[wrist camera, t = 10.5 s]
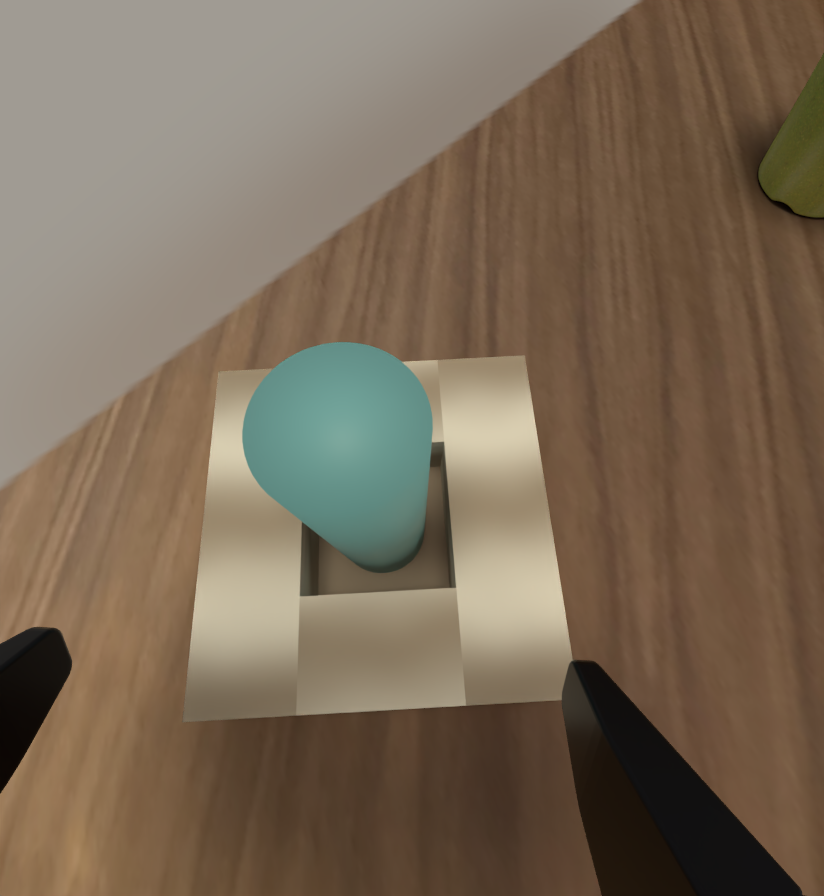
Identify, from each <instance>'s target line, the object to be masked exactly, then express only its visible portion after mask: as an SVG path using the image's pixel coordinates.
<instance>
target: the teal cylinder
mask: <svg viewBox="0 0 824 896" xmlns="http://www.w3.org/2000/svg"><path fill="white" fill-rule="evenodd" d="M432 432H433V418H432V412H431V406H430V403H429V400H428V397H427V394H426V392H425V390H424V388H423V386H422V384H421V383H420V381H419V380H418V378H417V377H416V376H415V374H414V373H413V372H412V371H411V370H410V369H409V368H408V367H407V366H406V365H405V364H404V363H402V362H401V361H400V360H398V359H397V358H395V357H394V356H392V355H391V354H389V353H387V352H385V351H383V350H381V349H378V348H375V347H372V346H368V345H364V344H359V343H350V342H336V343H328V344H322V345H318V346H314V347H311V348H308V349H305V350H302V351H300V352H298V353H296V354H294V355H292V356H290V357H289V358H287V359H286V360H284V361H283V362H281V363H280V364H279V365H278V366H276V367H275V368H274V369H273V370H272V371H271V372H270V373H269V374H268V375H267V376H266V377H265V378H264V379H263V380H262V382H261V383H260V384H259V386H258V387H257V389H256V390H255V392H254V394H253V396H252V397H251V400H250V402H249V404H248V407H247V410H246V413H245V417H244V422H243V430H242V443H243V449H244V455H245V458H246V461H247V464H248V467H249V469H250V471H251V473H252V475H253V477H254V478H255V480H256V481H257V482H258V484H259V485H260V487H261V488H262V489H263V490H264V491H265V492H266V493H267V494H268V495H269V496H270V497H272V498H273V499H274V500H275V501H277V502H278V503H279V504H280V505H282V506H283V507H284V508H285V509H287V510H288V511H289V512H290V513H292V514H293V515H294V516H295V517H297V518H298V519H299V520H301V521H302V522H303V523H304V524H306V525H307V526H308V527H309V528H311V529H312V530H313V531H314V532H316V533H317V534H318V535H319V536H321V537H322V538H323V539H325V540H326V541H327V542H328V543H330V544H331V545H332V546H333V547H335V548H336V549H337V550H338V551H340V552H341V553H342V554H343V555H345V556H346V557H347V558H349V559H350V560H351V561H352V562H354V563H355V564H356V565H357V566H359V567H361V568H362V569H364V570H367V571H370V572H373V573H389V572H393V571H396V570H399V569H401V568H403V567H404V566H406V565H407V564H408V563H410V562H411V561H412V560H413V559H414V557H415V556H416V555H417V553H418V552H419V550H420V548H421V545H422V543H423V539H424V530H425V518H426V506H427V493H428V481H429V469H430V457H431V445H432Z"/></svg>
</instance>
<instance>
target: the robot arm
mask: <svg viewBox="0 0 824 896" xmlns="http://www.w3.org/2000/svg"><path fill="white" fill-rule="evenodd" d="M71 668H72V659H71V656H70V653H69V651H68V648H67V646H66V643H65V641H64V638H63V635H62V633H61V632H60V630H58V629H56V628H48V627H33V628H30V629H27V630H25V631H23V632H22V633H20V634H18V635H16V636H14V637H12V638H10V639H9V640H7V641H5V642H3V643H1V644H0V793H1V792H2V790H3V789H4V787H5V786H6V784H7V783H8V781H9V780H10V778H11V777H12V775H13V773H14V772H15V770H16V769H17V767H18V765H19V764H20V762H21V760H22V759H23V757H24V755H25V754H26V752H27V750H28V748H29V746H30V745H31V743H32V741H33V739H34V737H35V736H36V734H37V732H38V730H39V728H40V727H41V725H42V723H43V721H44V719H45V718H46V716H47V714H48V712H49V710H50V709H51V707H52V705H53V703H54V701H55V700H56V698H57V696H58V694H59V692H60V691H61V689H62V687H63V685H64V683H65V682H66V680H67V678H68V676H69V674H70V671H71ZM562 709H563V715H564V721H565V727H566V733H567V739H568V746H569V752H570V758H571V764H572V770H573V776H574V782H575V788H576V794H577V799H578V805H579V809H580V814H581V818H582V822H583V826H584V830H585V833H586V837H587V841H588V845H589V849H590V852H591V856H592V860H593V864H594V868H595V871H596V875H597V879H598V883H599V887H600V890H601V894H602V896H803V895H802V891H801V889H800V887H799V886H798V885H797V884H796V883H795V882H794V881H793V879H792V878H791V877H790V876H789V875H788V874H787V873H786V872H785V871H784V869H783V868H782V867H781V866H780V865H779V864H778V863H777V862H776V861H775V860H774V858H773V857H772V856H771V855H770V854H769V853H768V852H767V851H766V850H765V848H764V847H763V846H762V845H761V844H760V843H759V842H758V841H757V840H756V838H755V837H754V836H753V835H752V834H751V833H750V832H749V831H748V830H747V828H746V827H745V826H744V825H743V824H742V823H741V822H740V821H739V820H738V819H737V817H736V816H735V815H734V814H733V813H732V812H731V811H730V810H729V809H728V807H727V806H726V805H725V804H724V803H723V802H722V801H721V800H720V799H719V797H718V796H717V795H716V794H715V793H714V792H713V791H712V790H711V789H710V787H709V786H708V785H707V784H706V783H705V782H704V781H703V780H702V779H701V778H700V776H699V775H698V774H697V773H696V772H695V771H694V770H693V769H692V768H691V766H690V765H689V764H688V763H687V762H686V761H685V760H684V759H683V758H682V756H681V755H680V754H679V753H678V752H677V751H676V750H675V749H674V748H673V746H672V745H671V744H670V743H669V742H668V741H667V740H666V739H665V738H664V737H663V735H662V734H661V733H660V732H659V731H658V730H657V729H656V728H655V727H654V725H653V724H652V723H651V722H650V721H649V720H648V719H647V718H646V717H645V715H644V714H643V713H642V712H641V711H640V710H639V709H638V708H637V707H636V705H635V704H634V703H633V702H632V701H631V700H630V699H629V698H628V697H627V696H626V694H625V693H624V692H623V691H622V690H621V689H620V688H619V687H618V686H617V684H616V683H615V682H614V681H613V680H612V679H611V678H610V677H609V676H608V674H607V673H606V672H605V671H604V670H603V669H602V668H601V667H600V666H599V665H598V664H597V663H596V662H594V661H588V660H572V661H571V662H570V663H569V666H568V669H567V673H566V677H565V681H564V685H563V689H562ZM804 896H805V895H804Z"/></svg>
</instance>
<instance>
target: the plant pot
mask: <svg viewBox="0 0 824 896" xmlns="http://www.w3.org/2000/svg"><path fill="white" fill-rule="evenodd" d="M758 177H759V181H760V184H761V186H762V188H763V190H764V192H765V193H766V194H767V195H768V196H769V197H770V198H771V199H772V200H774V201H780V202H783V203H785V204H787V205H788V206H789V207H790V208H791V209H792V210H793V212H794V213H796V214H800V215H803V216H808V217H824V54H823V55H822V57H821V59H820V61H819V63H818V64H817V66H816V68H815V70H814V71H813V73H812V75H811V77H810V78H809V80H808V82H807V84H806V86H805V87H804V89H803V91H802V92H801V94H800V96H799V98H798V99H797V101H796V103H795V105H794V106H793V108H792V110H791V112H790V113H789V115H788V117H787V119H786V120H785V122H784V124H783V126H782V127H781V129H780V131H779V132H778V134H777V136H776V137H775V139H774V141H773V143H772V144H771V146H770V148H769V150H768V151H767V153H766V155H765V157H764V158H763V160H762V162H761V164H760V167H759V172H758Z"/></svg>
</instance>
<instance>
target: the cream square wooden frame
mask: <svg viewBox="0 0 824 896" xmlns="http://www.w3.org/2000/svg"><path fill="white" fill-rule="evenodd" d="M402 363H404V364H405V365H406V366H407V367H408V368H409V369H410V370H411V371H412V372H413V373H414V374H415V376H416V377H417V378H418V380H419V381H420V383H421V384H422V386H423V388H424V390H425V392H426V394H427V397H428V400H429V403H430V406H431V412H432V418H433V432H432V445H431V457H430V469H429V481H428V493H427V506H426V518H425V530H424V539H423V543H422V545H421V548H420V550H419V552H418V553H417V555H416V556H415V557H414V559H413V560H412V561H411V562H410V563H408V564H407V565H406V566H404V567H403V568H401V569H399V570H396V571H393V572H389V573H373V572H370V571H367V570H364V569H362V568H361V567H359V566H357V565H356V564H355V563H354V562H352V561H351V560H350V559H349V558H347V557H346V556H345V555H343V554H342V553H341V552H340V551H338V550H337V549H336V548H335V547H333V546H332V545H331V544H330V543H328V542H327V541H326V540H325V539H323V538H322V537H321V536H319V535H318V534H317V533H316V532H314V531H313V530H312V529H311V528H309V527H308V526H307V525H306V524H304V523H303V522H302V521H301V520H299V519H298V518H297V517H295V516H294V515H293V514H292V513H290V512H289V511H288V510H287V509H285V508H284V507H283V506H282V505H280V504H279V503H278V502H277V501H275V500H274V499H273V498H272V497H270V496H269V495H268V494H267V493H266V492H265V491H264V490H263V489H262V488H261V487H260V485H259V484H258V482H257V481H256V480H255V478H254V477H253V475H252V473H251V471H250V469H249V467H248V464H247V461H246V458H245V455H244V449H243V443H242V430H243V422H244V417H245V413H246V410H247V407H248V404H249V402H250V400H251V397H252V396H253V394H254V392H255V390H256V389H257V387H258V386H259V384H260V383H261V382H262V380H263V379H264V378H265V377H266V376H267V375H268V374H269V373H270V372H271V371H272V370H273V369H258V370H239V371H220V372H219V373H218V383H217V392H216V402H215V412H214V421H213V431H212V441H211V450H210V460H209V470H208V479H207V489H206V499H205V508H204V518H203V528H202V537H201V547H200V557H199V566H198V576H197V586H196V595H195V605H194V615H193V624H192V634H191V644H190V653H189V663H188V673H187V682H186V692H185V702H184V711H183V721H182V722H194V721H212V720H229V719H246V718H263V717H280V716H297V715H314V714H332V713H349V712H366V711H383V710H400V709H417V708H434V707H451V706H469V705H486V704H503V703H520V702H537V701H554V700H562V689H563V685H564V681H565V677H566V673H567V669H568V666H569V663H570V662H571V661H572V660H573V659H572V653H571V647H570V640H569V634H568V628H567V621H566V615H565V609H564V602H563V596H562V590H561V583H560V577H559V571H558V564H557V558H556V552H555V545H554V539H553V533H552V526H551V520H550V514H549V507H548V501H547V495H546V488H545V482H544V476H543V469H542V463H541V457H540V450H539V444H538V438H537V432H536V425H535V419H534V413H533V406H532V400H531V394H530V387H529V381H528V375H527V368H526V362H525V356H506V357H487V358H468V359H449V360H430V361H411V362H402Z"/></svg>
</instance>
